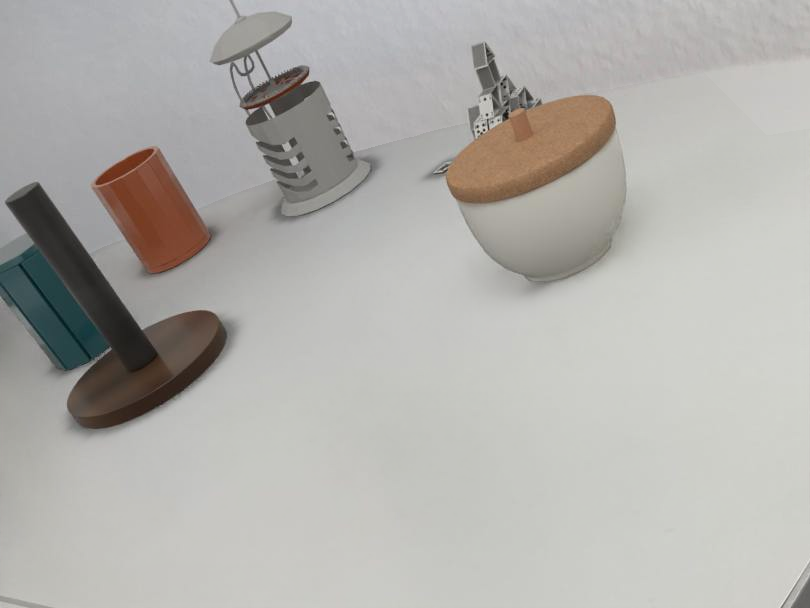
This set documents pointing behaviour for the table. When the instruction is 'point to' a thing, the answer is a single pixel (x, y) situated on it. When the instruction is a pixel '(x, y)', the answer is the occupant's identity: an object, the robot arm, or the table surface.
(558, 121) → the trinket box
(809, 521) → the table surface
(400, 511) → the table surface
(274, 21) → the french press
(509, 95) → the house of cards
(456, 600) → the table surface
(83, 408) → the towel holder
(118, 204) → the terracotta cup
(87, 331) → the teal tall block
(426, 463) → the table surface
